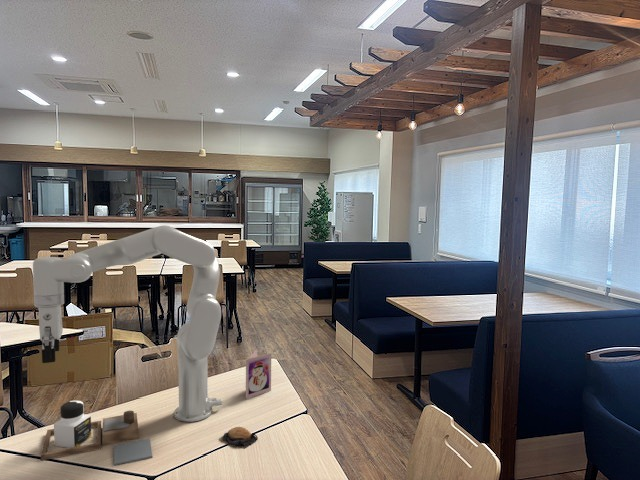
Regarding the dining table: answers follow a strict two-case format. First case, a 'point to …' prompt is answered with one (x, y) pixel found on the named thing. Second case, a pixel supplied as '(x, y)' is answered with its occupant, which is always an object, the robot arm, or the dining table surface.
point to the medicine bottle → (72, 425)
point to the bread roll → (239, 437)
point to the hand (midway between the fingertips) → (51, 356)
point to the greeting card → (258, 374)
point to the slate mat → (132, 451)
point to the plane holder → (111, 433)
